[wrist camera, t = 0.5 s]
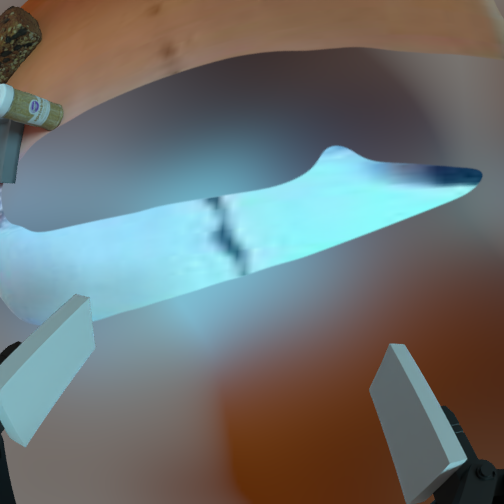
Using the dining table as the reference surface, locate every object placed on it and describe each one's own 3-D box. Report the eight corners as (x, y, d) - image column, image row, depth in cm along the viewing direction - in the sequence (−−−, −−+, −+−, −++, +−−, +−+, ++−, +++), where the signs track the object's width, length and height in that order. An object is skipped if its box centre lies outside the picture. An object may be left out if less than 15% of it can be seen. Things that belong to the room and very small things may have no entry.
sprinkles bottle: (64, 125, 38) (2, 107, 25) (44, 134, 39) (-16, 120, 26) (64, 99, 38) (6, 77, 24) (45, 109, 38) (-12, 91, 25)
